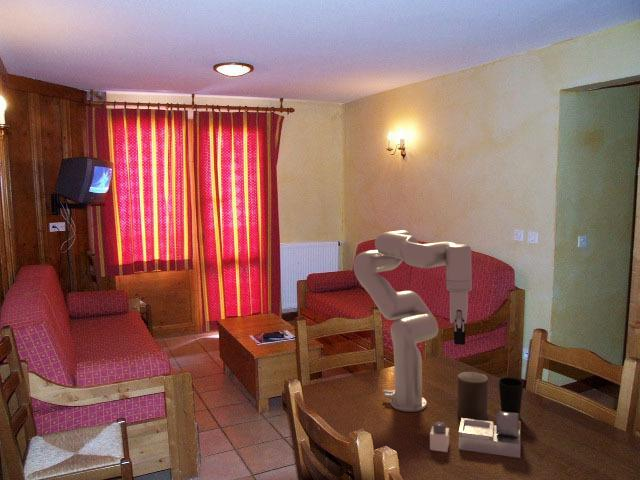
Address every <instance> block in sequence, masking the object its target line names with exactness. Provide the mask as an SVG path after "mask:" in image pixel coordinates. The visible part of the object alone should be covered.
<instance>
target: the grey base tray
mask: <svg viewBox="0 0 640 480" xmlns="http://www.w3.org/2000/svg"><path fill="white" fill-rule="evenodd" d="M459 423H460V424H459V429H458V450H461V451H467V452H476V453H482V454H489V455H497V456H505V457H510V458H518V459H521V430H522V429H521V428H522V427H521V424H522V421H520V418H519V414H518V413H510V412H501V410H500V411H498V410H496V425H495V424H494V421H490V420H485V421H483V420H475V419H467V418H461V419H460V422H459Z"/></svg>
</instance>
